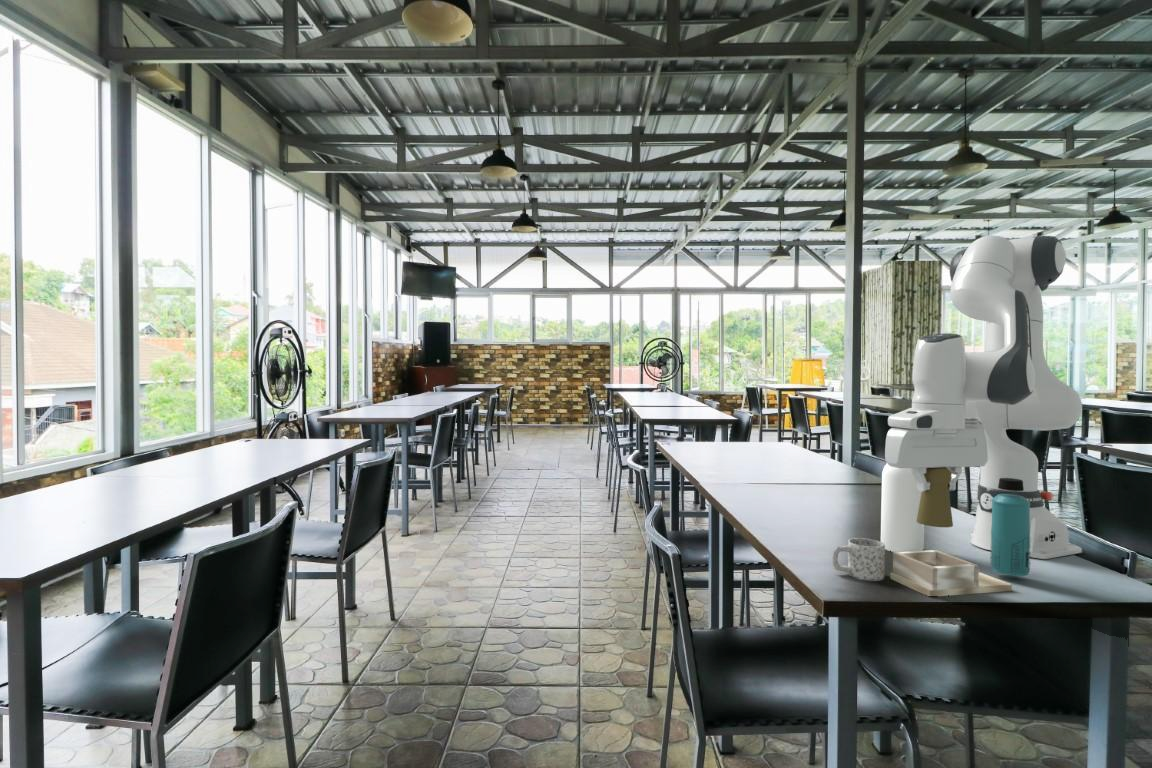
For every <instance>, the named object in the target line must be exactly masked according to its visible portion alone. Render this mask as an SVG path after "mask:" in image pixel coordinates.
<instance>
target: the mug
mask: <svg viewBox="0 0 1152 768" xmlns="http://www.w3.org/2000/svg"><path fill="white" fill-rule="evenodd" d="M847 543H848V544H846V545H845V544H844V545H840V546H837V547H834V549H833V551H832V552H833V553H832V566H833V569H834V570H836V571H839V572H845V573H847V575H849V576H850V577H852V578H854V579H858V580H861V581H867V582H879V581H883V580H884V579H885V560H886V559H885V558H886V556H885V554H886V553H885V552H886V550H885V544H884V543H882V542H881V540H880V541H879V540H876V539H871V538H863V537H853V538H850V539H848V540H847ZM841 552H845V553H847V565H840V563H839V561H838V559H839V553H841Z"/></svg>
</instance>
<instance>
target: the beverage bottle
mask: <svg viewBox="0 0 1152 768" xmlns="http://www.w3.org/2000/svg"><path fill="white" fill-rule="evenodd" d="M998 488H999V489H1003V490H1010V491H1023V490H1024V487H1023V481H1022V480H1020V479H1014V478H1000V479H999V485H998ZM1030 528H1031V526H1030V502H1029V501H1028V500H1027V499H1026V498H1024V497H1023V496H1019V495H1012V494H998V495H997V496H995V497H994V498H993V499H992V528H991V535H990V536H991V538H990V539H991V541H990V542H991V545H990V548H991V550H989V551H990V555H989V556H990V557H989V558H990V559H989V560H990V562H989V563H990V564H989V565H990V566H991V569H992V570H993V571H995V572H997V573H1000V574H1004V575H1008V576H1016V577H1024V576H1028V575H1029V574H1030V568H1031V561H1030V557H1029V554H1030V552H1031V551H1030V546H1031V545H1030V540H1031V539H1030V538H1031V537H1030Z"/></svg>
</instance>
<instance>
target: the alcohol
mask: <svg viewBox="0 0 1152 768" xmlns="http://www.w3.org/2000/svg"><path fill="white" fill-rule="evenodd" d="M921 492H922V491H918V490H917V481H916V479H915V477H914V476H913V474H912V468H896V467H891V466H889V465H888V464H887V463H886V464H885V465H884V466H883V469H882V473H881V504H880V505H881V506H880V507H881V508H880V542H882V543H884V544H885V551H888V552H890V551H891V553H893V552H909V551H924V548H925V525H923V524H919V523H917V515H918V509H919V504H920V498H921Z"/></svg>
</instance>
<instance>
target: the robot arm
mask: <svg viewBox="0 0 1152 768" xmlns="http://www.w3.org/2000/svg"><path fill="white" fill-rule="evenodd" d="M1066 260H1067V255H1066V249H1065V248H1064V246H1063V243H1062V242H1061V240H1060V239H1059V238H1057V236H1052V235H1036V236H1035V237H1023V238H1022V237H1021V238H1019V237H1018V238H1011V239H1007V237H1003V236H1000V235H986V236H985V235H984V236H982V237H979V238H977V239H976V240H974V241H973V242H971V243H970V244H969V245H968V247H967V248H965V249H962V250H960V251H958V252H956V254H955V255H954V256H953V257H952V258H951V260H950V263H949V276H950V280H951V284H950V291H949V292H950V294H949V295H950V296H949V297H950V300H951V302H952V305H953V306H954V307H955V308H956V310H958V311H959V312H960V313H961V314H963V315H965V316H967V317H969V318H970V319H973V320H977V321H983V322H985V333H984V334H985V336H984V337H985V339H984V351H979V352H978V351H975V352H974V351H973V352H968V351H967V352H966V348H965V343H964V338H963V337H964V336H963V335H960V334H957V333H950V332H949V333H948V332H947V333H935V334H934V333H933V334H927V335H924V336H921V337H920V338H918V339H917V342H916V345H915V350H914V353H913V354H914V355H913V362H912V379H911V380H912V384H913V387H914V393H913V397H912V399H911V407H908V408H907V409H904V410H901V411H899V412H896V413H893V414H890V415H889V416H888V418H887V425H888V426H889V427H891V428H890V429H888V431H887V433H886V436H885V437H886V438H885V446H884V458H885V459H884V461H885V462H886V464H888V465H889V466H891V467H896V468H912V474H913V476H914V477H915V479H916V481H917V490H918V491H930V482H927V481H926V479H925V476H924V474H926V468H938V467H945V468H947V469H949V470H950V472H951V475H952V479H951V482H950V483H949V484H948V489H949V491H955V490H956V489H957V482H958V480H959V478H960V476H961V475H962V472H963V468H966V467H967V468H971V467H977V468H978V467H979V473H980V474H979V476H980V477H979V480H980V481H979V484H978V485H977V490H976V491H977V492H976V493H977V496H976V497H977V500H978V505H977V507H976V512H975V518H974V519H975V520H974V525H973V532H971V533H970V538H971V539H970V543H971V544H972V545H974V546H975V547H978V548H981V549H984V550H987V551H988V550H989V551H991V548H990V545H991V542H990V541H991V539H990V538H991V536H990V535H991V528H992V499H993V498H994V497H995V496H997V495H998V494H1012V495H1019V496H1023V497H1024V498H1026V499H1027V500H1028V501H1029V502H1030V526H1031V528H1030V537H1031V538H1030V539H1031V540H1030V545H1031V546H1030V551H1031V552H1030V554H1029V558H1035V559H1038V560H1039V559H1040V560H1049V559H1054V558H1059V557H1064V556H1069V555H1076V554H1082V553H1083V549H1082V547H1080V546H1079V545H1076V544H1073V543H1070V539H1069V530H1068V526H1067V525H1066V524H1065V522H1064V521H1062V520H1061V519H1060V518H1059V517H1057V516H1056V515H1055V514H1053V512H1052V511H1050V510H1048V509H1047V508H1046V507H1045V502H1044V501H1043V500H1046V501H1048V502H1051V501H1053V499H1054V493H1053V492H1051V491H1045V490H1042V491H1040V490H1039V489H1038V487H1039V486H1038V482H1039V460H1038V457H1037V455H1036V453H1035V452H1034V451H1032V450H1031V449H1029V448H1028V447H1026V446H1024V445H1021V444H1019V443H1018V442H1015V441H1013V440H1011V438H1009V436H1008V435H1007V431H1006V430H1026V431H1045V432H1046V431H1054V430H1064V429H1065V430H1066V429H1070V428H1071V427H1073V426H1074V425H1075V424H1076V423H1077V421H1079V419H1080V417H1081V415H1082V412H1083V411H1082V410H1083V402H1082V400H1081V399H1082V398H1081V397H1080V395H1079V394H1078V392H1077V391H1076V390H1075V389H1074V388H1073V387H1072V386H1070V385H1068V384H1066V383H1065V382H1063V381H1062V380H1061V379H1060V378H1058V377H1057V376H1056V375H1055V373H1054V372H1053V371H1052V370H1051V369H1050V367H1049V365H1048V363H1047V359H1046V357H1045V352H1044V351H1045V350H1044V307H1043V300H1042V293H1041V292H1044V291H1046V290H1047V289H1048V288H1049V285H1051V284H1052V283H1054V282H1056V281H1057V279H1058V278H1060V276H1061V275H1062V273H1063V272H1064V269H1065V265H1066ZM923 473H924V474H923ZM1000 478H1014V479H1020V480H1022V481H1023V487H1024V490H1023V491H1010V490H1003V489H999V488H998V485H999V479H1000Z"/></svg>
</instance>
